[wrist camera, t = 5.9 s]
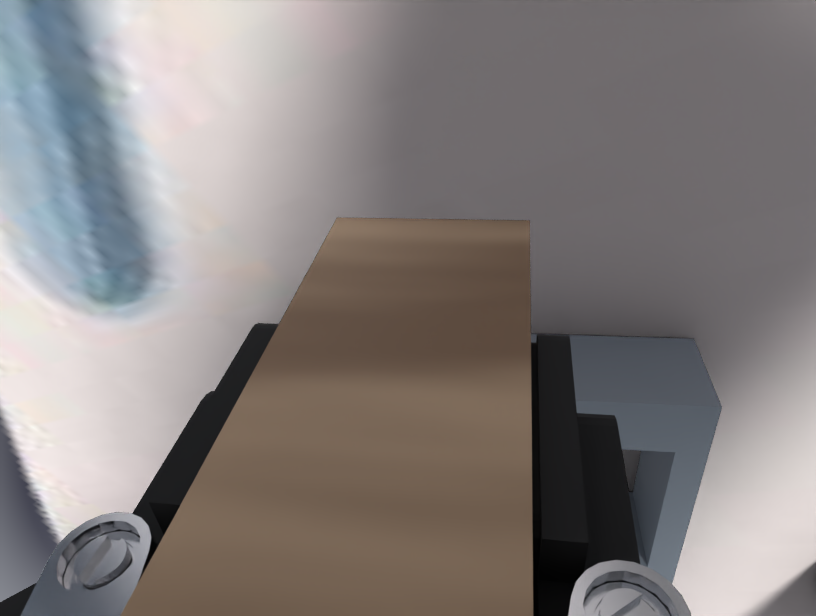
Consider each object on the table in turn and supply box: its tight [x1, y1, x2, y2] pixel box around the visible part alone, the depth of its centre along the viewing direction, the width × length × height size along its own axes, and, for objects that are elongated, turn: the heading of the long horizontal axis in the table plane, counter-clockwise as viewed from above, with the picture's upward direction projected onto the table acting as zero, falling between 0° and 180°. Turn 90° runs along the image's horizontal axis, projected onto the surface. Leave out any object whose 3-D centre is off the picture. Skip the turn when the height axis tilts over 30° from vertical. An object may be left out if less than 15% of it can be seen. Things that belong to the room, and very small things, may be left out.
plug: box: [120, 218, 533, 616], centre depth 10 cm, size 4×4×10 cm
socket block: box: [531, 334, 722, 584], centre depth 25 cm, size 14×16×4 cm
